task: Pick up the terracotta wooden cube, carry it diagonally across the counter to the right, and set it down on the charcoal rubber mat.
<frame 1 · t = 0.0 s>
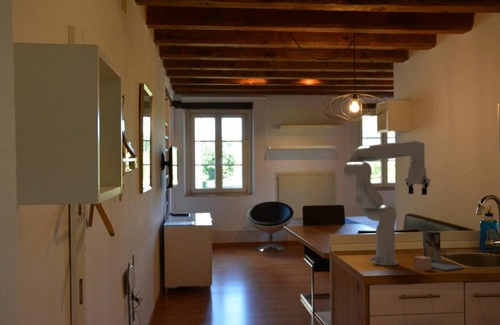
hand: (417, 194, 247), 37 cm above the counter, tool pointing down, fingers open, 9 cm apart
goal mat: (442, 267, 227), on the counter
coffee box: (431, 260, 244), on the counter
terracotta cube: (422, 269, 223), on the counter
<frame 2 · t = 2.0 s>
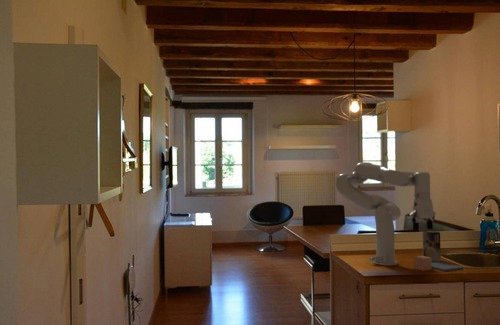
hand: (422, 229, 224), 20 cm above the counter, tool pointing down, fingers open, 9 cm apart
nothing on the counter moved.
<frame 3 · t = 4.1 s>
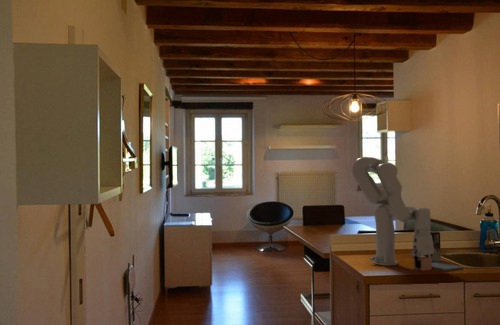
hand: (422, 267, 223), 1 cm above the counter, tool pointing down, fingers closed on terracotta cube, 6 cm apart
terracotta cube: (422, 268, 223), on the counter, touching gripper
everything else where it was.
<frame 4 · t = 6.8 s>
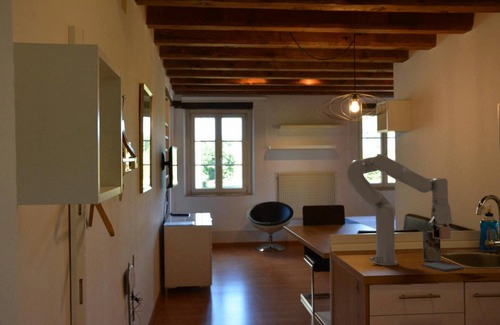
hand: (441, 236, 227), 16 cm above the counter, tool pointing down, fingers closed on terracotta cube, 6 cm apart
terracotta cube: (441, 238, 226), point 15 cm above the counter, touching gripper
everything else where it was.
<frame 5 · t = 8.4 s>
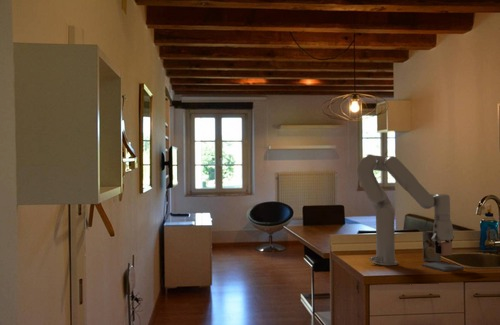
hand: (443, 252, 227), 8 cm above the counter, tool pointing down, fingers closed on terracotta cube, 6 cm apart
terracotta cube: (443, 254, 227), point 7 cm above the counter, touching gripper
everything else where it was.
when the fingers open (4 cm above the counter, at t = 9.6 s): terracotta cube drops 2 cm, resting on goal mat.
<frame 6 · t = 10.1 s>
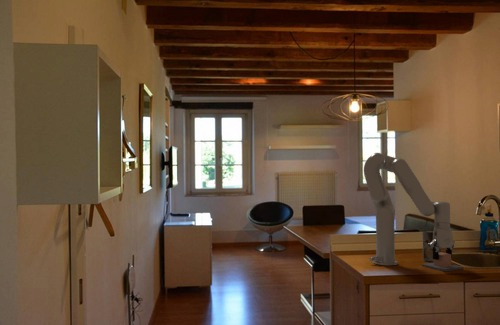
hand: (442, 258, 227), 4 cm above the counter, tool pointing down, fingers open, 9 cm apart
terracotta cube: (442, 265, 227), point 1 cm above the counter, touching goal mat
everything else where it was.
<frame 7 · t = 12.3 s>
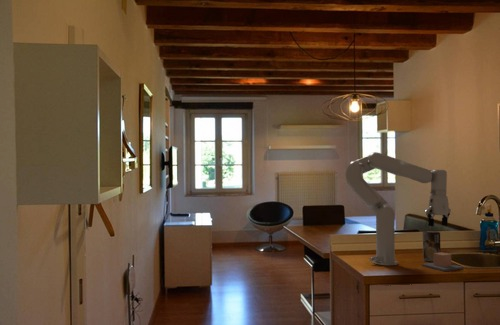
hand: (437, 225, 230), 21 cm above the counter, tool pointing down, fingers open, 9 cm apart
nothing on the counter moved.
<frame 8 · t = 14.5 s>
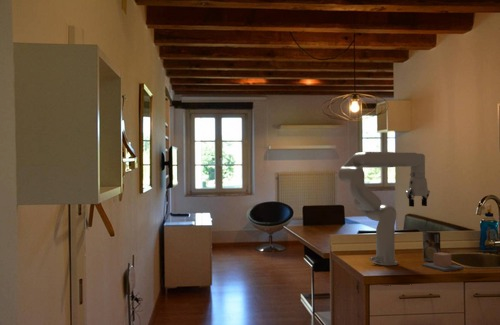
hand: (417, 206, 244), 30 cm above the counter, tool pointing down, fingers open, 9 cm apart
nothing on the counter moved.
at the end: terracotta cube inside the target area on the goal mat (0.1 cm from its centre), point 1.0 cm above the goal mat's base; terracotta cube tilted 0°; the gripper is holding nothing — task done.
